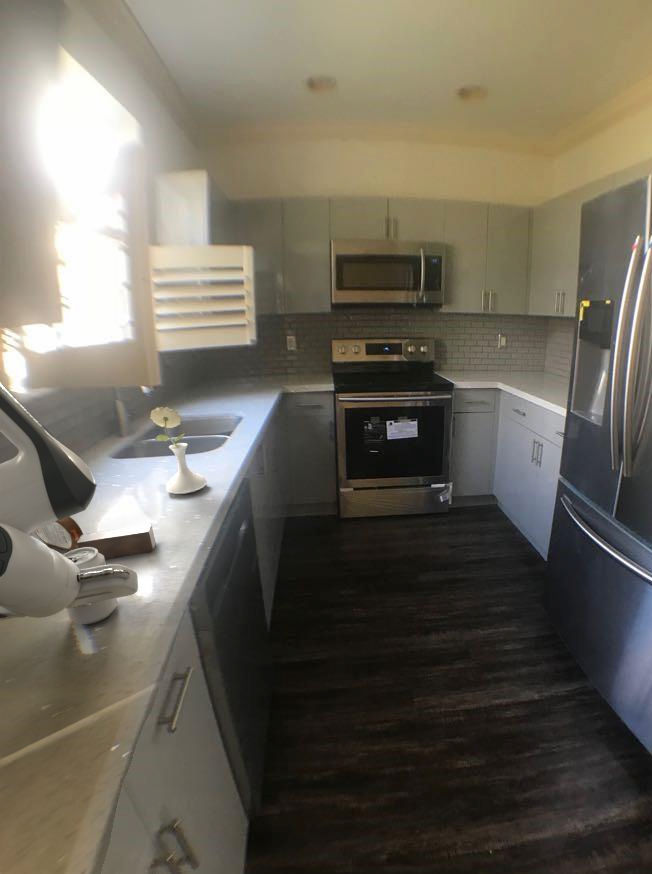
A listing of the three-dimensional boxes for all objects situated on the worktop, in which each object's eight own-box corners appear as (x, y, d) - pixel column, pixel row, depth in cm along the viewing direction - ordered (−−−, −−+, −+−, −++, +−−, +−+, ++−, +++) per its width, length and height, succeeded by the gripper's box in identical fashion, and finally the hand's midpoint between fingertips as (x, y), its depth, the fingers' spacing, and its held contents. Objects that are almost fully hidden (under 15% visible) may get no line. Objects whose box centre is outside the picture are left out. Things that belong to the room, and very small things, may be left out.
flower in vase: (215, 483, 140) (200, 402, 131) (192, 498, 130) (174, 411, 120) (178, 481, 143) (161, 402, 134) (153, 495, 133) (133, 410, 124)
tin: (89, 548, 105) (78, 515, 101) (75, 555, 102) (64, 521, 99) (48, 536, 111) (38, 505, 108) (35, 543, 108) (23, 510, 105)
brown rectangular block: (82, 563, 98) (76, 543, 97) (87, 554, 102) (81, 534, 100) (153, 551, 102) (148, 531, 100) (155, 543, 106) (151, 523, 104)
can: (66, 614, 82) (45, 556, 78) (111, 595, 87) (95, 540, 83) (76, 633, 77) (55, 572, 73) (124, 612, 82) (107, 554, 78)
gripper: (123, 548, 68) (148, 571, 80) (-43, 576, 62) (11, 596, 75) (124, 590, 66) (150, 607, 78) (-48, 622, 60) (9, 635, 72)
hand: (81, 602), depth 76 cm, fingers closed, pressing on can
